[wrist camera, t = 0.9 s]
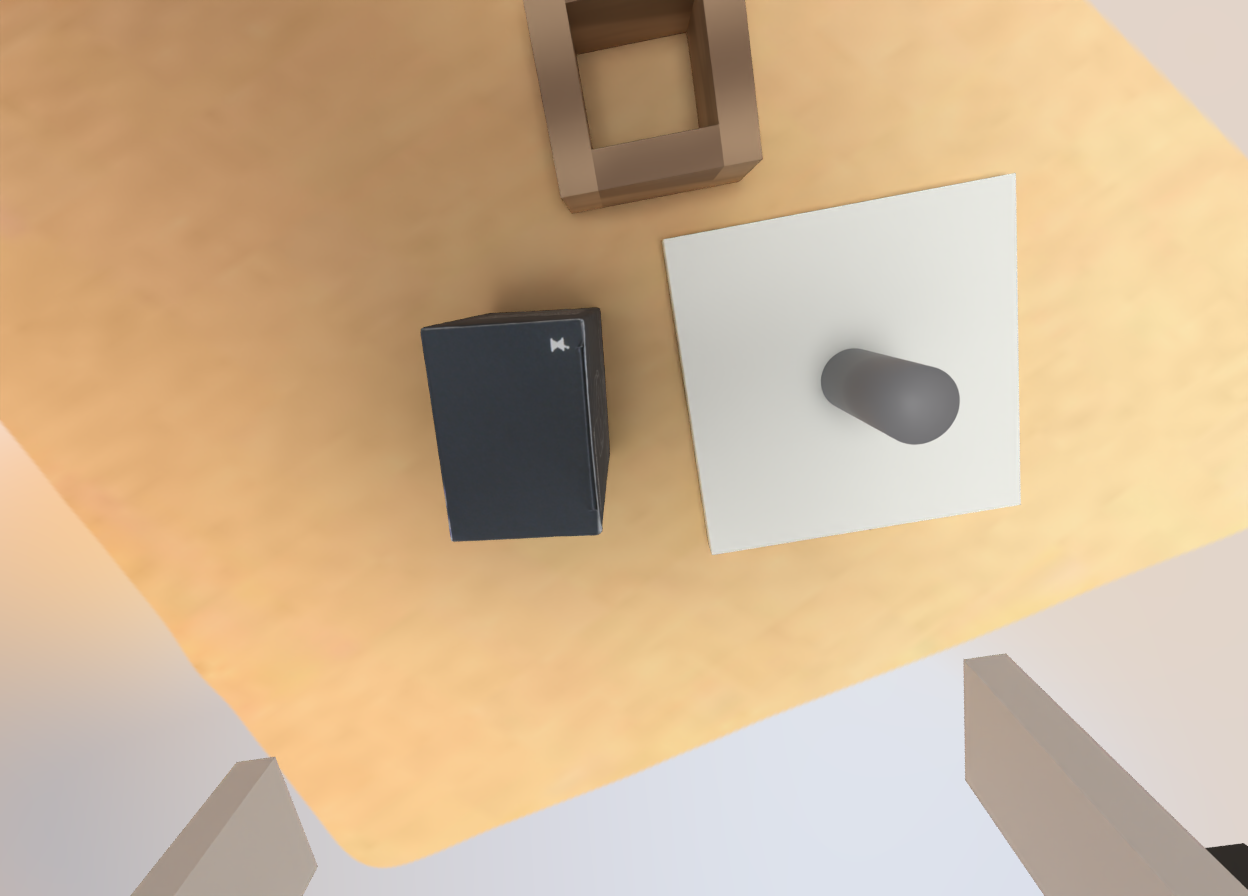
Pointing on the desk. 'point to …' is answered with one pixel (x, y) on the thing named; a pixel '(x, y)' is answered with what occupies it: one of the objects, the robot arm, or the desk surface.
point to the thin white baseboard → (852, 364)
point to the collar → (709, 156)
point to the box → (520, 422)
